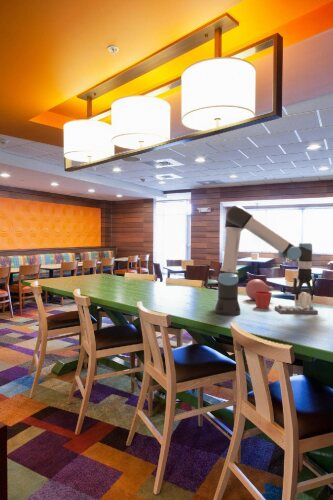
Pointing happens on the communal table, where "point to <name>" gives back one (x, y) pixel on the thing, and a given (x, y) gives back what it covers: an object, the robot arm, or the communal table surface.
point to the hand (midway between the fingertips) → (303, 305)
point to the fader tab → (304, 300)
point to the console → (295, 310)
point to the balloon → (256, 287)
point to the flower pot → (262, 299)
